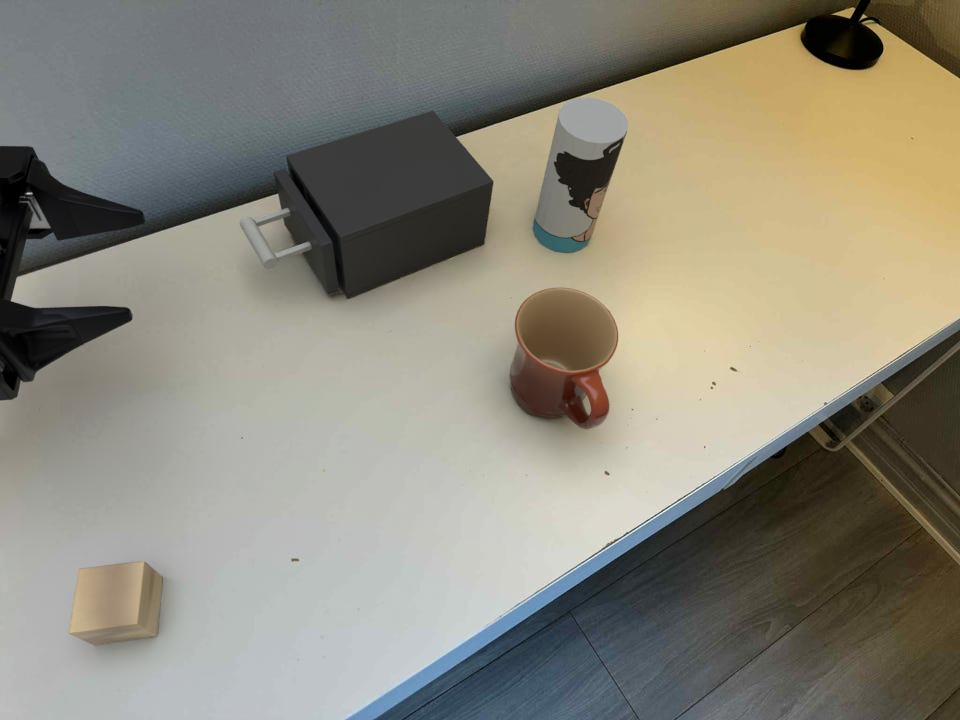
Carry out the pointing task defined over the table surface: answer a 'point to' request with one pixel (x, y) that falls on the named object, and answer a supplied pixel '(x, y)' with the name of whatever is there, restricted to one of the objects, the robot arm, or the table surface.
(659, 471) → the table surface
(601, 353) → the mug
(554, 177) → the cup
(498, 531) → the table surface
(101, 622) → the block
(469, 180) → the cabinet
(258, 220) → the drawer
